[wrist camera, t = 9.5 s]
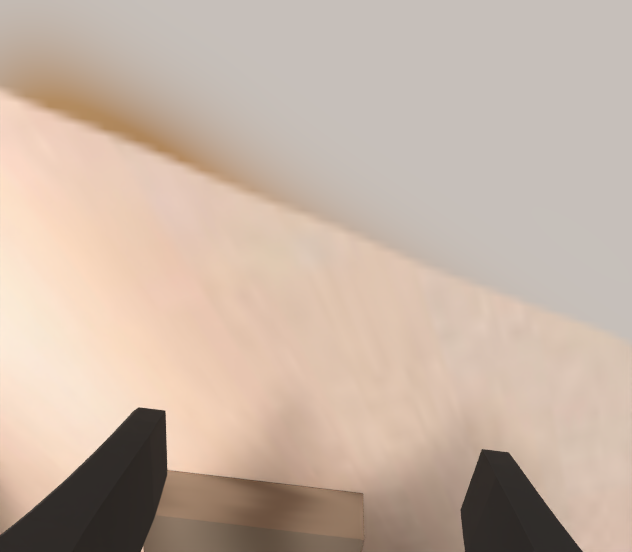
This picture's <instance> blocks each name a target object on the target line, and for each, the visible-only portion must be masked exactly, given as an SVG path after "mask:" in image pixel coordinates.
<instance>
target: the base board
mask: <svg viewBox="0 0 632 552" xmlns="http://www.w3.org/2000/svg"><path fill="white" fill-rule="evenodd" d="M363 543H364V516H363V494H362V493H353V492H345V491H337V490H328V489H320V488H311V487H303V486H294V485H286V484H278V483H269V482H261V481H252V480H244V479H235V478H227V477H219V476H210V475H202V474H193V473H185V472H176V471H168V470H167V478H166V481H165V485H164V488H163V492H162V495H161V498H160V502H159V505H158V508H157V512H156V515H155V518H154V521H153V523H152V526H151V528H150V530H149V533H148V535H147V538H146V540H145V542H144V545H143V546H144V552H361V551H362V547H363Z"/></svg>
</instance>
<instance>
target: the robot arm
mask: <svg viewBox="0 0 632 552" xmlns="http://www.w3.org/2000/svg"><path fill="white" fill-rule="evenodd" d="M166 478H167V446H166V414H165V411H164V410H155V409H147V408H137V409H136V410H134V411H133V412H132V413H131V414H130V416H129V417H128V418H127V419H126V420H125V421H124V422H123V423H122V424H121V425H120V426H119V427H118V428H117V429H116V431H115V432H114V433H113V434H112V435H111V436H110V437H109V438H108V439H107V440H106V441H105V442H104V443H103V444H102V445H101V446H100V447H99V448H98V449H97V450H96V451H95V452H94V453H93V454H92V455H91V456H90V457H89V458H88V459H87V460H86V461H85V462H84V463H83V464H82V465H81V466H80V467H78V468H77V469H76V470H75V471H74V472H73V473H72V474H71V475H70V476H69V477H68V478H67V479H66V480H65V481H64V482H63V483H62V484H60V485H59V486H58V487H57V488H56V489H55V490H54V491H52V492H51V493H50V494H49V495H48V496H47V497H46V498H45V499H43V500H42V501H41V502H40V503H39V504H38V505H37V506H35V507H34V508H33V509H32V510H31V511H30V512H28V513H27V514H26V515H25V516H24V517H22V518H21V519H20V520H19V521H17V522H16V523H15V524H14V525H13V526H11V527H10V528H9V529H8V530H6V531H5V532H4V533H2V534H1V535H0V552H141V550H142V547H143V545H144V542H145V540H146V538H147V535H148V533H149V530H150V528H151V526H152V523H153V521H154V518H155V515H156V512H157V508H158V505H159V502H160V498H161V495H162V492H163V488H164V485H165V481H166ZM461 519H462V529H463V538H464V546H465V552H583V551H582V550H581V549H580V548H579V546H578V545H577V544H576V543H575V541H574V540H573V539H572V537H571V536H570V535H569V534H568V532H567V531H566V530H565V528H564V527H563V526H562V525H561V523H560V522H559V521H558V519H557V518H556V517H555V515H554V514H553V513H552V511H551V510H550V509H549V507H548V506H547V505H546V503H545V502H544V500H543V499H542V498H541V496H540V495H539V494H538V492H537V491H536V489H535V488H534V487H533V485H532V484H531V482H530V481H529V480H528V478H527V477H526V475H525V474H524V473H523V471H522V470H521V469H520V467H519V466H518V464H517V463H516V462H515V460H514V459H513V458H512V456H511V455H510V454H509V453H508V452H500V451H492V450H484V449H482V451H481V453H480V456H479V459H478V462H477V465H476V468H475V471H474V473H473V476H472V479H471V482H470V485H469V488H468V490H467V493H466V496H465V499H464V502H463V505H462V508H461Z"/></svg>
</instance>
